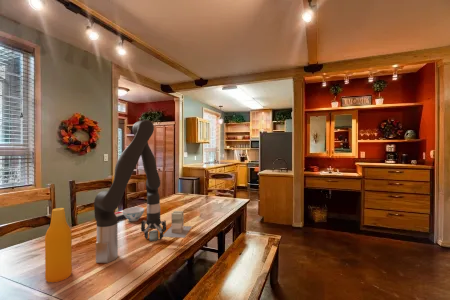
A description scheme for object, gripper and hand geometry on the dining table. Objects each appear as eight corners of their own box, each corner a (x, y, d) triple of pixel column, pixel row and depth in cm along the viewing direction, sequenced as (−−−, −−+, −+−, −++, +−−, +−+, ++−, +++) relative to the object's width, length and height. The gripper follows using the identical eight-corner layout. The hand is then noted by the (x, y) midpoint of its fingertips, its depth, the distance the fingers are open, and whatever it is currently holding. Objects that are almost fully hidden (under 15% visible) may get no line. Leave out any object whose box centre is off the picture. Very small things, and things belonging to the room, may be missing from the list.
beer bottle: (54, 285, 92) (53, 213, 91) (40, 280, 95) (39, 210, 95) (77, 273, 100) (76, 207, 100) (62, 269, 104) (62, 205, 103)
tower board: (184, 240, 136) (184, 237, 136) (161, 239, 137) (161, 236, 137) (191, 228, 155) (191, 226, 155) (171, 227, 156) (171, 225, 156)
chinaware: (120, 219, 174) (120, 209, 174) (140, 215, 183) (140, 206, 183) (126, 224, 162) (126, 213, 162) (147, 220, 172) (147, 210, 172)
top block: (180, 223, 143) (180, 214, 143) (171, 223, 143) (171, 213, 143) (183, 220, 149) (183, 211, 149) (174, 220, 149) (174, 211, 149)
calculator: (129, 212, 181) (114, 216, 167) (129, 217, 181) (114, 222, 167) (118, 211, 185) (102, 215, 171) (118, 216, 185) (102, 221, 170)
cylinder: (156, 244, 130) (156, 233, 130) (147, 243, 131) (147, 233, 131) (159, 240, 135) (159, 230, 135) (151, 240, 136) (151, 230, 136)
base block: (180, 233, 143) (180, 223, 143) (171, 232, 143) (171, 223, 143) (183, 229, 149) (183, 220, 149) (174, 229, 149) (174, 220, 149)
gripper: (138, 212, 130) (139, 240, 130) (163, 213, 129) (163, 241, 129) (144, 208, 137) (144, 235, 138) (167, 209, 136) (167, 236, 137)
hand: (153, 238), depth 134 cm, fingers open, 8 cm apart
